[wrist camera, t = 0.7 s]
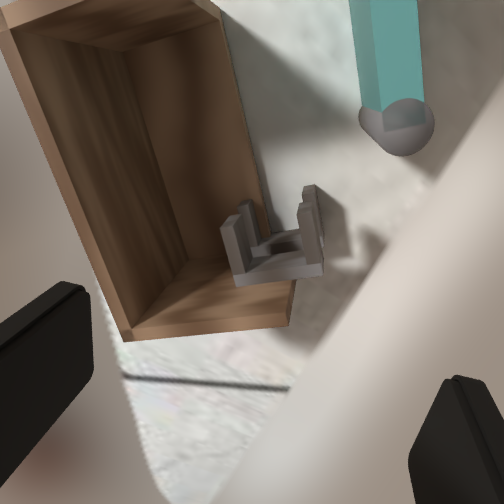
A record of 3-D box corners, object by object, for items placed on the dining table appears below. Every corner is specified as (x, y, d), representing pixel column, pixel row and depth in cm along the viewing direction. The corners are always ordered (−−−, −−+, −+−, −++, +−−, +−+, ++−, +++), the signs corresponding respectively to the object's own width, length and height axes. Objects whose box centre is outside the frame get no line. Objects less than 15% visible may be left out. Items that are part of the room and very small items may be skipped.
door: (381, -132, 24) (424, -315, 13) (404, 127, 30) (449, 147, 19) (328, -111, 25) (329, -268, 14) (360, 137, 31) (378, 161, 20)
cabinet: (279, -13, 28) (244, -92, 16) (326, 245, 35) (325, 322, 23) (114, 43, 31) (-15, 13, 20) (186, 266, 38) (123, 342, 27)
